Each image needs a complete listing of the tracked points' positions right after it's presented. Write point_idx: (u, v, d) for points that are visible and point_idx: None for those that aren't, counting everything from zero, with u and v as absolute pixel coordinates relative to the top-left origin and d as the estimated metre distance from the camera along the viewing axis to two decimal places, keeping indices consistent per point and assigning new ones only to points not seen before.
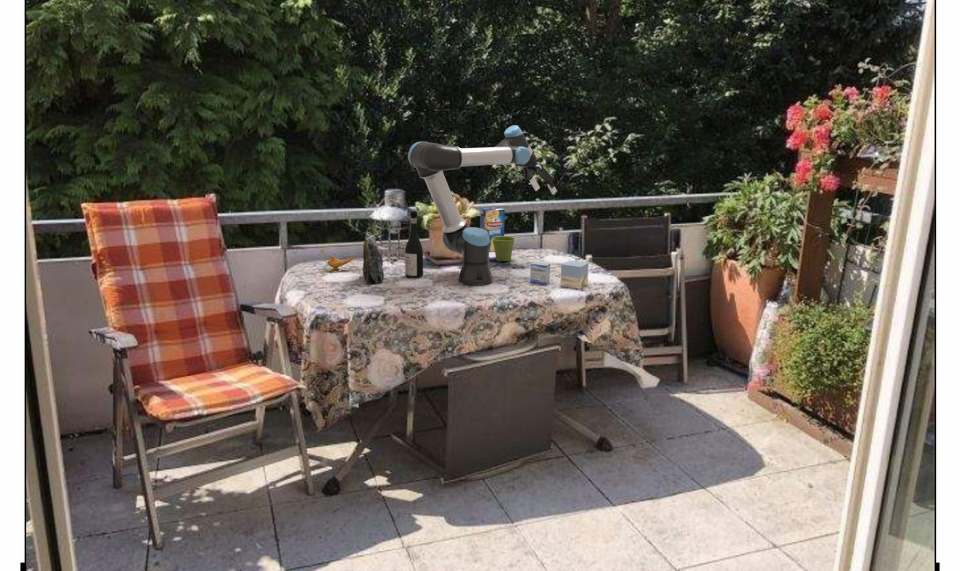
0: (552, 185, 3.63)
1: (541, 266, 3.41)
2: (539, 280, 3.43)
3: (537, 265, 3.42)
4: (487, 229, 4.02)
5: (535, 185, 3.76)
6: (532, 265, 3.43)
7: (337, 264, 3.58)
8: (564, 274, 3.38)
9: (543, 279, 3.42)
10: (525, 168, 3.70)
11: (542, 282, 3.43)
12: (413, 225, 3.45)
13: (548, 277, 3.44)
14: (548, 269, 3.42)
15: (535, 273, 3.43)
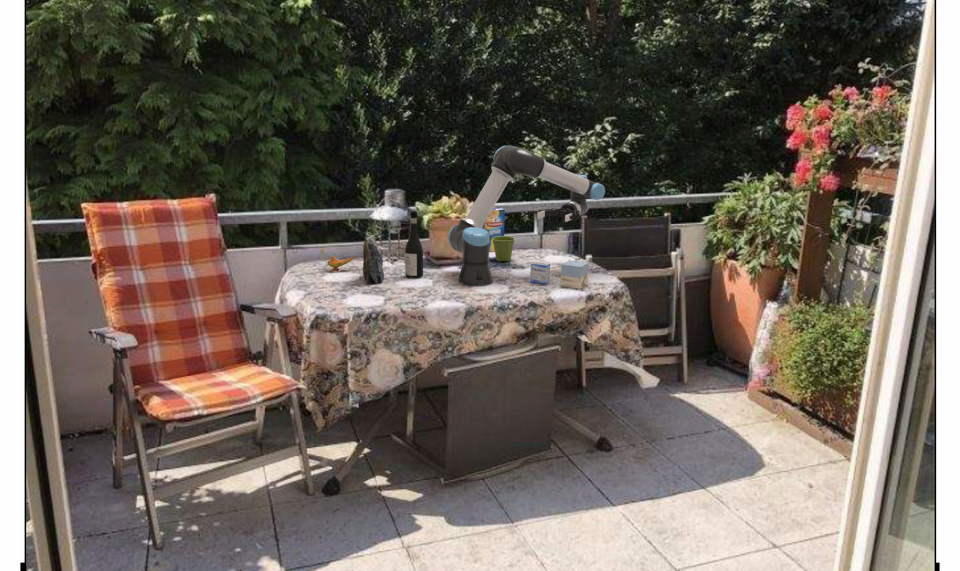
0: (573, 217, 3.48)
1: (541, 266, 3.41)
2: (539, 280, 3.43)
3: (537, 265, 3.42)
4: (487, 229, 4.02)
5: (541, 214, 3.53)
6: (532, 265, 3.43)
7: (337, 264, 3.58)
8: (564, 274, 3.38)
9: (543, 279, 3.42)
10: None
11: (542, 282, 3.43)
12: (413, 225, 3.45)
13: (548, 277, 3.44)
14: (548, 269, 3.42)
15: (535, 273, 3.43)
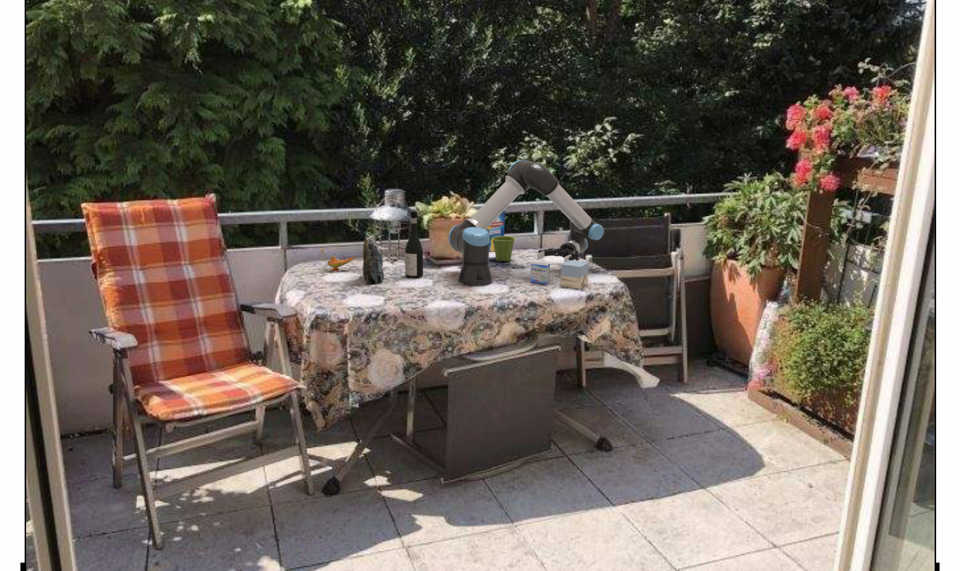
0: (572, 258, 3.53)
1: (541, 266, 3.41)
2: (539, 280, 3.43)
3: (537, 265, 3.42)
4: (487, 229, 4.02)
5: (540, 255, 3.58)
6: (532, 265, 3.43)
7: (337, 264, 3.58)
8: (564, 274, 3.38)
9: (543, 279, 3.42)
10: None
11: (542, 282, 3.43)
12: (413, 225, 3.45)
13: (548, 277, 3.44)
14: (548, 269, 3.42)
15: (535, 273, 3.43)
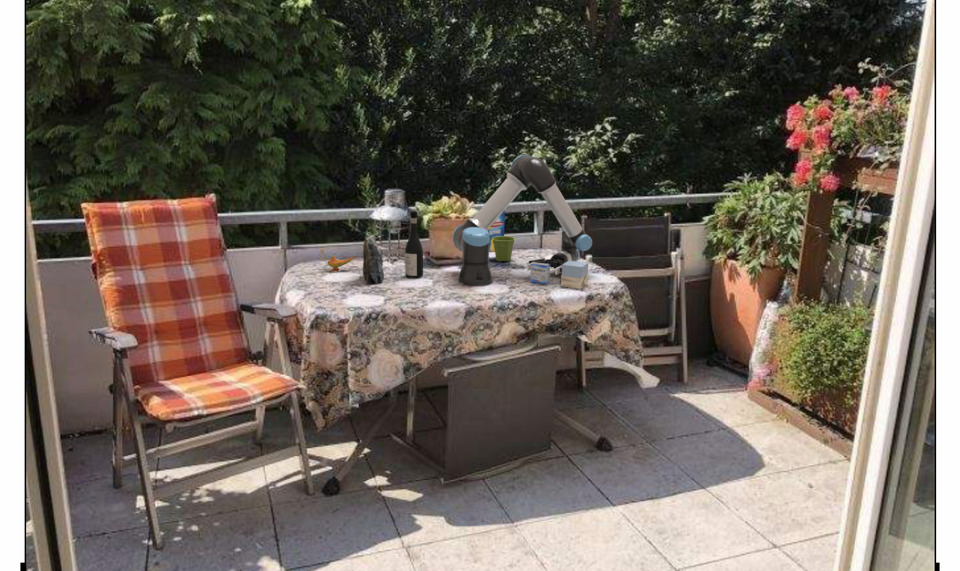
0: None
1: (541, 266, 3.41)
2: (539, 280, 3.43)
3: (537, 265, 3.42)
4: None
5: None
6: (532, 265, 3.43)
7: (337, 264, 3.58)
8: (565, 274, 3.37)
9: (543, 279, 3.42)
10: (541, 261, 3.59)
11: (542, 282, 3.43)
12: (413, 225, 3.45)
13: (548, 277, 3.44)
14: (548, 269, 3.42)
15: (535, 273, 3.43)
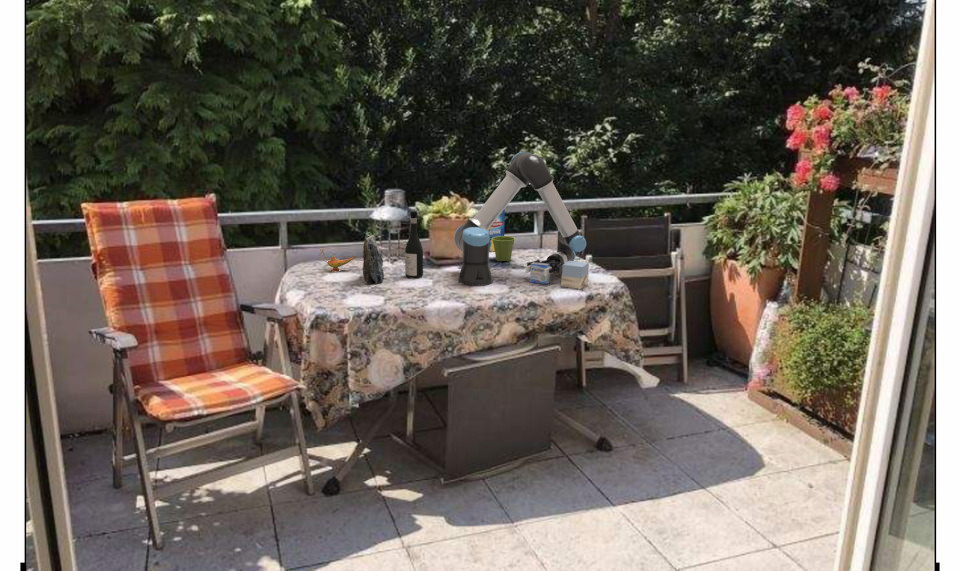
0: (552, 271, 3.41)
1: (541, 266, 3.41)
2: (539, 280, 3.43)
3: (537, 265, 3.42)
4: None
5: (529, 268, 3.44)
6: (532, 265, 3.43)
7: (337, 264, 3.58)
8: (565, 274, 3.37)
9: (543, 279, 3.42)
10: (537, 262, 3.54)
11: (542, 282, 3.43)
12: (413, 225, 3.45)
13: (548, 277, 3.44)
14: None
15: (535, 273, 3.43)
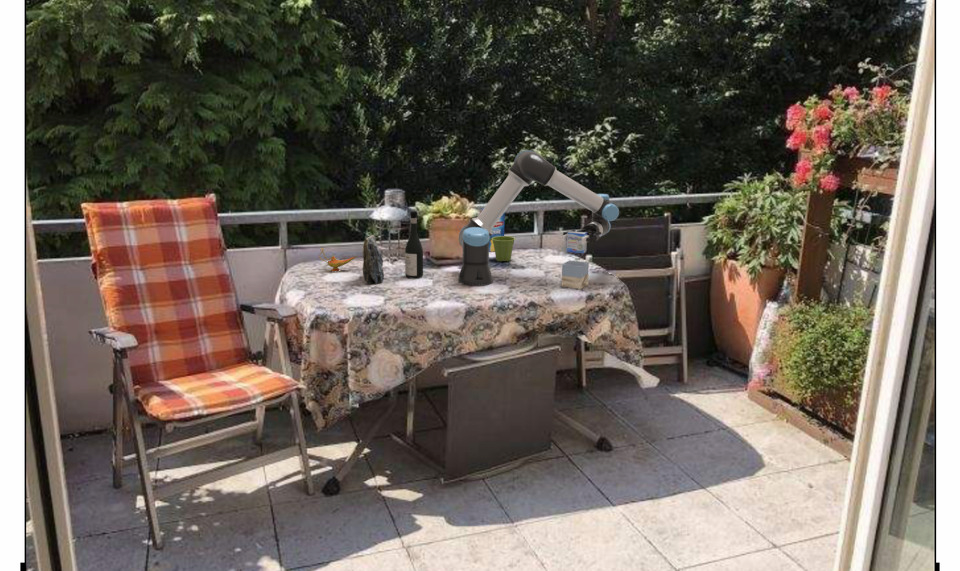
0: (589, 239, 3.34)
1: (578, 234, 3.34)
2: (576, 249, 3.36)
3: (574, 234, 3.35)
4: None
5: (566, 237, 3.37)
6: (569, 234, 3.35)
7: (337, 264, 3.58)
8: (565, 274, 3.38)
9: (580, 248, 3.35)
10: None
11: (579, 251, 3.35)
12: (413, 225, 3.45)
13: (585, 246, 3.36)
14: None
15: (571, 241, 3.36)
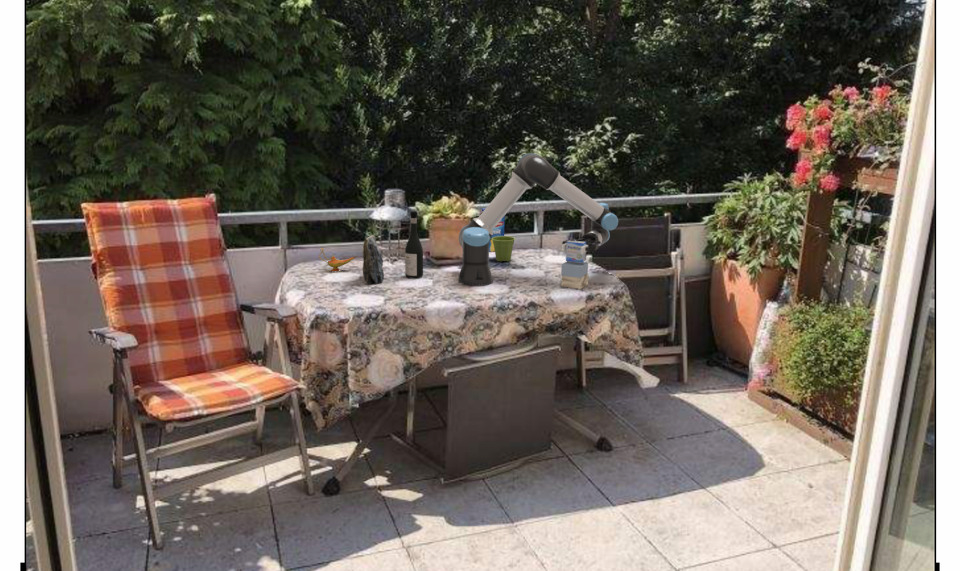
0: (589, 249, 3.35)
1: (577, 244, 3.35)
2: (575, 258, 3.37)
3: (573, 243, 3.36)
4: None
5: (565, 246, 3.38)
6: (568, 243, 3.36)
7: (337, 264, 3.58)
8: (564, 274, 3.38)
9: (579, 257, 3.36)
10: None
11: (578, 260, 3.36)
12: (413, 225, 3.45)
13: (584, 255, 3.37)
14: None
15: (571, 251, 3.37)
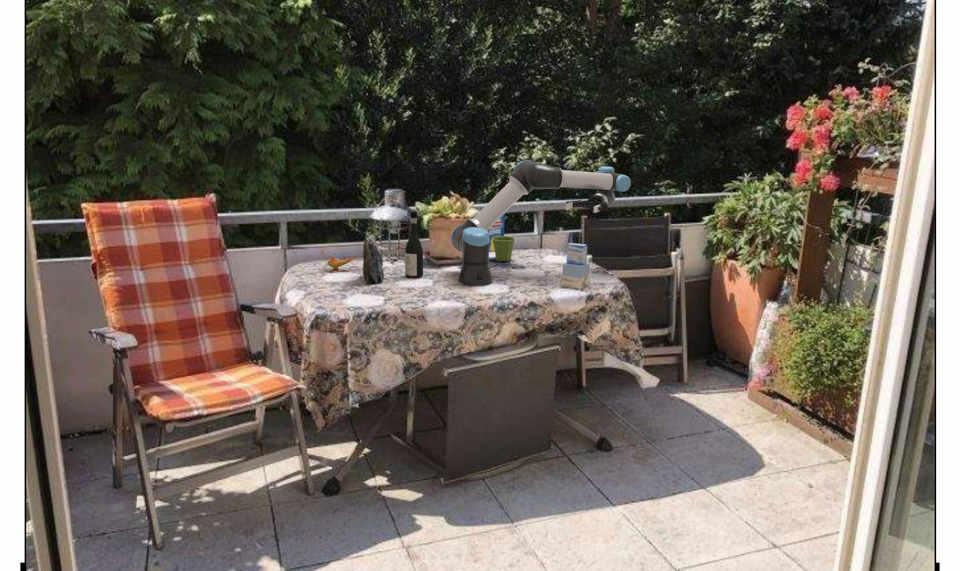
0: (601, 208, 3.47)
1: (578, 246, 3.35)
2: (576, 260, 3.37)
3: (574, 245, 3.36)
4: None
5: (569, 205, 3.52)
6: (569, 245, 3.37)
7: (337, 264, 3.58)
8: (565, 274, 3.38)
9: (580, 260, 3.36)
10: (578, 202, 3.60)
11: (579, 263, 3.37)
12: (413, 225, 3.45)
13: (585, 258, 3.37)
14: (585, 250, 3.36)
15: (571, 253, 3.37)
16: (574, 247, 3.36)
